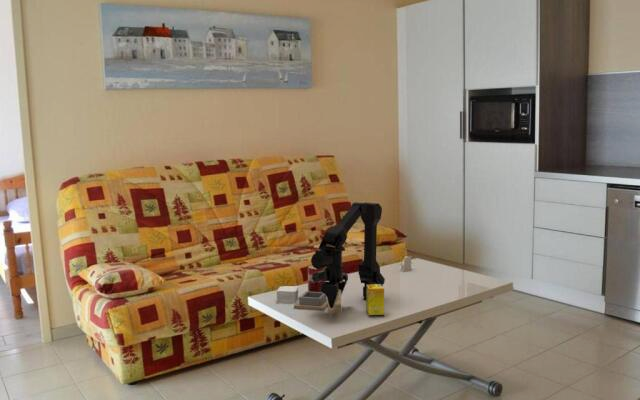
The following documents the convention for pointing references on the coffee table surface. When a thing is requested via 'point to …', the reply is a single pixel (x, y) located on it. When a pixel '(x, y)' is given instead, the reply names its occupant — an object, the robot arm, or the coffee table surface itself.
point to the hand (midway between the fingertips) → (334, 304)
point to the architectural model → (406, 264)
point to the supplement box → (375, 300)
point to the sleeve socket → (312, 301)
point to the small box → (287, 294)
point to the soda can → (311, 285)
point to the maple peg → (336, 306)
